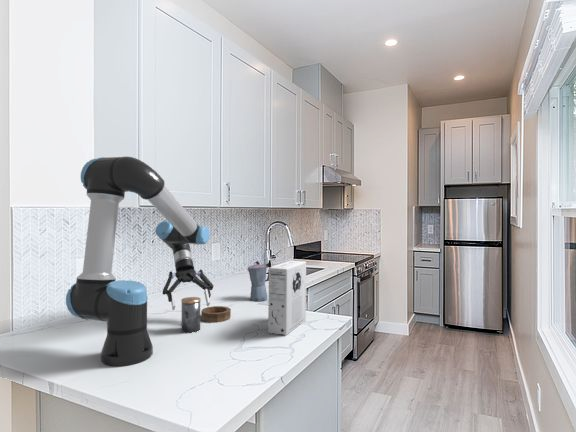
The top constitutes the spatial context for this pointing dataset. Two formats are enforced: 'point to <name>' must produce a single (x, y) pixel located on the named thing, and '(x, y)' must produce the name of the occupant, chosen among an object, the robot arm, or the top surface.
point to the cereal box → (287, 296)
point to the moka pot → (258, 281)
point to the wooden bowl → (216, 314)
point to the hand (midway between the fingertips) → (191, 306)
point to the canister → (190, 314)
